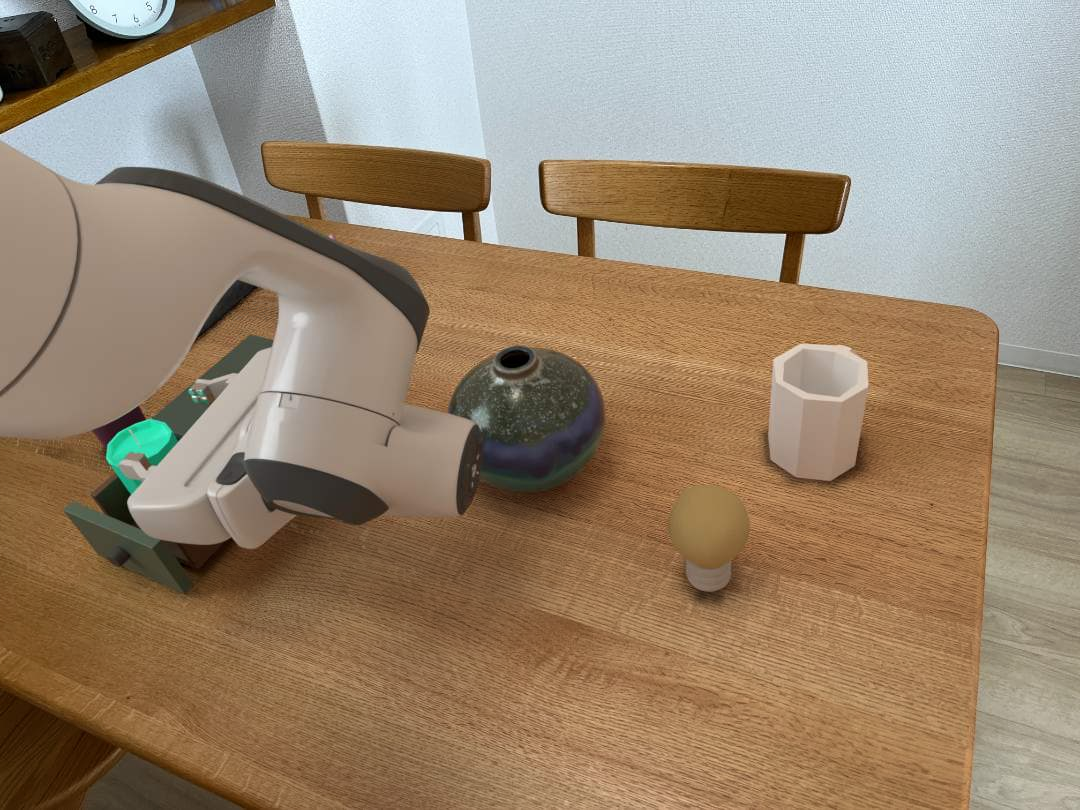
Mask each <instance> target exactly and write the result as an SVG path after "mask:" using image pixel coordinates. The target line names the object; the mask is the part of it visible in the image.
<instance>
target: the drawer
mask: <svg viewBox="0 0 1080 810" xmlns="http://www.w3.org/2000/svg"><path fill="white" fill-rule="evenodd" d="M176 439H177V440H178V442H179V441H180V439H178V438H176ZM89 495H90V497H91V498H92V500H94V502H95V503H96V505H97V506H98V507H99V509H100V510H101V511H102V512H100V511H98V510H96V509H92V508H90V507H88V506H86V505H83V504H81V503H79V502H77V501H74V500H72V501H71V502H69V504H67V505H65V507H64V508H62V511H63V513H64V514H65V515H66V516H67V518H68V519H69V520H70V521H71V523H72V524H73V525H74V526H75V528H76V529H77V530H78V532H79V533H80V534H81V536H83V538H84V539H85V540H86V542H87V543H88V544H89V546H90V547H91V548H92V549H93V550H94V552H95V553H96V554H97V556H99V557H102V558H104V559H106V560H107V561H109V562H110V564H112V565H113V566H115V567H117V568H122V567H124V568H126V569H128V570H130V571H133V572H135V573H137V574H139V575H140V576H141V575H142V576H143V577H146V578H148V579H150V580H152V581H155V582H157V583H159V584H161V585H163V586H165V587H168V588H169V589H172V590H174V591H176V592H179V593H181V594H183V595H186V594H187V593H189V591H190V590H191V589H192V588H193V587H194V586H195V583H194V582H193V580H192V579H191V577H190V576H189V574H188V573H187V572H186V570H185V569H184V568H183V566H182V564H184V565H187V566H189V567H191V568H193V569H196V570H200V569H201V567H202V566H203V565H204V564H206V562H207V561H208V560H209V559H210V558H211V557H212V556H213V555H214V554H215V553H216V552H217V550H219V548H220V547H221V546H222V545H224V544H225V542H226V541H227V540H225V541H223V542H220V543H217V544H211V545H197V544H186V543H178V542H171V541H165V540H160V539H156V538H153V537H150V536H148V535H147V534H146V533H145V532H144V531H143V530H142V529H141V528H140V527H139V526H138V524H137V523H136V522H135V520H134V519H133V517H132V515H131V513H130V511H129V508H128V504H127V501H128V499H129V497H130V496H131V494H130V492H129V491H128V490H127V488H126V487H125V485H124V484H123V482H122V481H121V480H120V478H119V477H118V475H117V474H116V472H115V471H114V473H112V475H110V476H109V477H108V478H107V479H106V480H105V481H103V482H102V483H101V484H100V485H99V486H98V487H96V489H94V490H93V491H92V492H90V494H89ZM181 563H182V564H181Z"/></svg>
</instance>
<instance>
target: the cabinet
mask: <svg viewBox="0 0 1080 810" xmlns="http://www.w3.org/2000/svg"><path fill="white" fill-rule="evenodd" d="M273 341H274V339H272V338H267V337H264V336H260V335H255V334H251V333H250V334H249V335H247V336H246V337H245V338H244V339H243V340H242V341H241V342H239V343H238V344H237V345H236V346H235V347H233V349H231V350H230V351H229V352H228V353H226V354H225V355H224V356H223V357H222V358H221V359H219V360H218V361H217V362H216V363H215V364H214V365H212V366H211V367H210V368H209V369H207V370H206V371H205V372H204V373H203V374H201V376H199V377H198V378H197V379H204V380H212V379H215V378H219V377H222V376H225V375H229V374H232V373H237V374H239V373H240V371H241V370H242V369H243V368H244V367H245V366H246V365H247V363H248V362H249V361H250V360H251V359H252V358H253V357H254V355H255V354H256V353H257V352H259V351H261V350H264V349H267V348H271V347H272V345H273ZM195 382H196V380H194V381H193V382H192V383H191V384H190V385H189V386H187V387H186V388H185V389H184V390H183V391H181V393H179V394H178V395H177V396H176V397H175V398H174V399H172V400H171V401H170V402H169V403H168V404H166V405H165V406H164V407H163V408H162V409H161V410H160V411H158V412H157V413H156V414H155V415H153V416H152V417H151V418H150V419H154V420H157V421H161V422H165V423H166V424H167V426H168V427H169V428H170V429H171V431H172V432H173V434H174V435H175V437H176V438H178V439H181V438H182V437H183V436H184V435H185V434H186V433H187V431H188V430H189V429H190V428H191V427H192V426H193V425H194V424H195V422H196V421H197V420H198V419H199V418H200V417H201V416H202V414H203V413H204V412H205V411H206V410H207V409H208V408H209V407H210V405H204V404H203V403H202V404H197V403H195V402H194V401H193V400H192V398H191V395H190V394H189V393H188V390H189V388H190V387H191V386H192V385H193V384H194V383H195ZM214 401H215V400H214ZM214 401H213V402H214Z"/></svg>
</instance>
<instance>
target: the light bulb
mask: <svg viewBox="0 0 1080 810" xmlns="http://www.w3.org/2000/svg"><path fill="white" fill-rule="evenodd" d="M667 529H668V530H667V532H668V536H669V538H670V541H671V543H672V545H673V546H674V548H675V550H676V551H677V552H678V553H679V554H680V555H681V557H683V558H685V574H686V578H687V580H688V582H689V583H690V584H691V585H692V586H693V587H694V588H695V589H697V590H700V591H703V592H709V593H711V592H717V591H720V590H722V589H723V588H725V587H726V586H727V585H728V583H729V582H730V580H731V577H732V560H734V559H735V558H737V556H739V555H740V553H742V551H743V549H744V548H745V546H746V545H747V543H748V539H749V537H750V530H751V522H750V517H749V513H748V510H747V507H746V505H745V504H744V502H743V500H742V499H741V498H740V497H739V496H738V495H737V494H736V493H734V492H733V491H731V490H729V489H727V488H725V487H722V486H718V485H713V484H698V485H693V486H691V487H689V488H687V489H685V490H684V491H682V492H681V494H679V496H677V498H676V499H675V501H674V502H673V504H672V506H671V508H670V511H669V514H668V520H667Z"/></svg>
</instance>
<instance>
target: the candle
mask: <svg viewBox="0 0 1080 810" xmlns="http://www.w3.org/2000/svg"><path fill="white" fill-rule="evenodd" d="M177 443H178V440H177V439H176V437H175V435H174V434H173V432H172V431H171V429H170V428H169V427H168V426H167V424H166V423H165V422H161V421H157V420H154V419H151V418H149V419H146V420H145V421H142V422H139V423H136V424H134V425H132V426H130V427H128V428H126V429H124V430H122V431H120V432H118V433H117V435H116V436H115V437H114V438H113V439H112V440H111V441H110V442H109V444H108V445H107V449H106V455H105V459H106V461H107V463H108V464H109V465H110V467H111V468H112V470H113V471H114V473H115V472H116V474H117V475H118V477H119V478H120V480H121V481H122V482H123V484H124V485H125V487H126V488H127V490H128V491H129V492H130V494H131V495H132V494H133V492H134V491H135V490H136V489H137V488H138V487H139V486H140V485H141V484H142V481H140V480H135V479H129V478H128V477H126V476H125V475H124V474H123V472H122V471H121V469H120V468H119V467H118V464H119V463H120V462H121V461H122V460H123V459H124V458H125V457H126V456H127V455H128V454H129V453H130V452H134V453H135V454H136V453H142V454H145V455H146V457H147V458H148V463H151V465H153V466H157V465H158V464H159V463H160V462H161V461H162V460H163V459H164V458H165V456H166V455H167V454H168V453H169V452H170V451H171V450H172V448H173V447H174V446H175V445H176V444H177Z"/></svg>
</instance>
